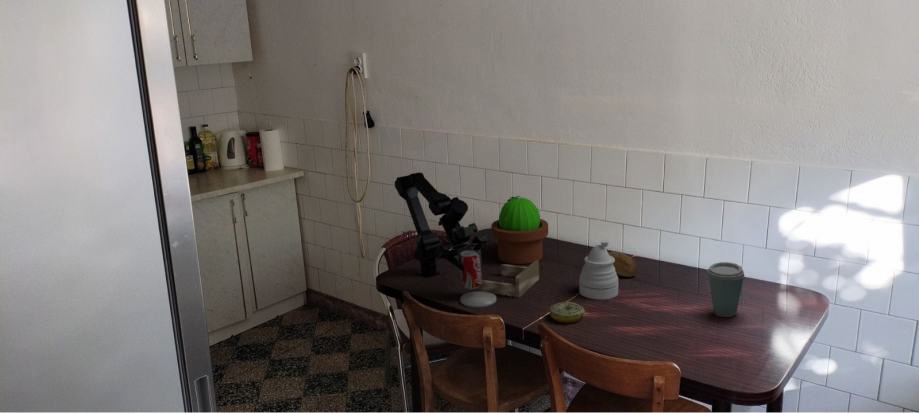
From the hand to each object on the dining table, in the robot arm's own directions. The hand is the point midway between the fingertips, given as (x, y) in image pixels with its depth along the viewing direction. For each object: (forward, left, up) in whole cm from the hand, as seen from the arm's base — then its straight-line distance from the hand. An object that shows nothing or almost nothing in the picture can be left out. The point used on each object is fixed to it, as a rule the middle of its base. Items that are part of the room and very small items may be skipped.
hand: (472, 268), depth 232 cm
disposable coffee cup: (+61, +51, -11) cm, 80 cm away
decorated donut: (+32, +13, -11) cm, 36 cm away
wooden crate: (-1, +16, -11) cm, 20 cm away
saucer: (+3, 0, -11) cm, 11 cm away
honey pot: (+24, +35, -11) cm, 44 cm away
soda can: (-1, +1, -7) cm, 7 cm away
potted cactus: (-21, +38, -11) cm, 45 cm away
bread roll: (+16, +52, -11) cm, 56 cm away
